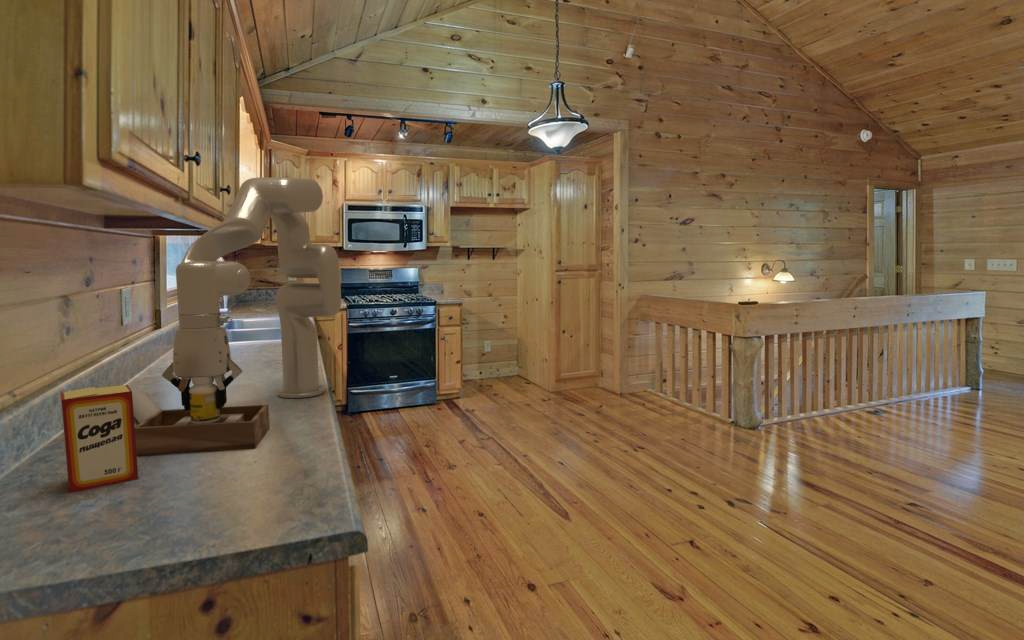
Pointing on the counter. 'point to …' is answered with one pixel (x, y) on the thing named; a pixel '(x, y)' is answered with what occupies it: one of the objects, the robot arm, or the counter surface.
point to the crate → (202, 431)
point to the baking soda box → (99, 436)
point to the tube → (143, 406)
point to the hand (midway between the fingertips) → (204, 407)
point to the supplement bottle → (203, 401)
